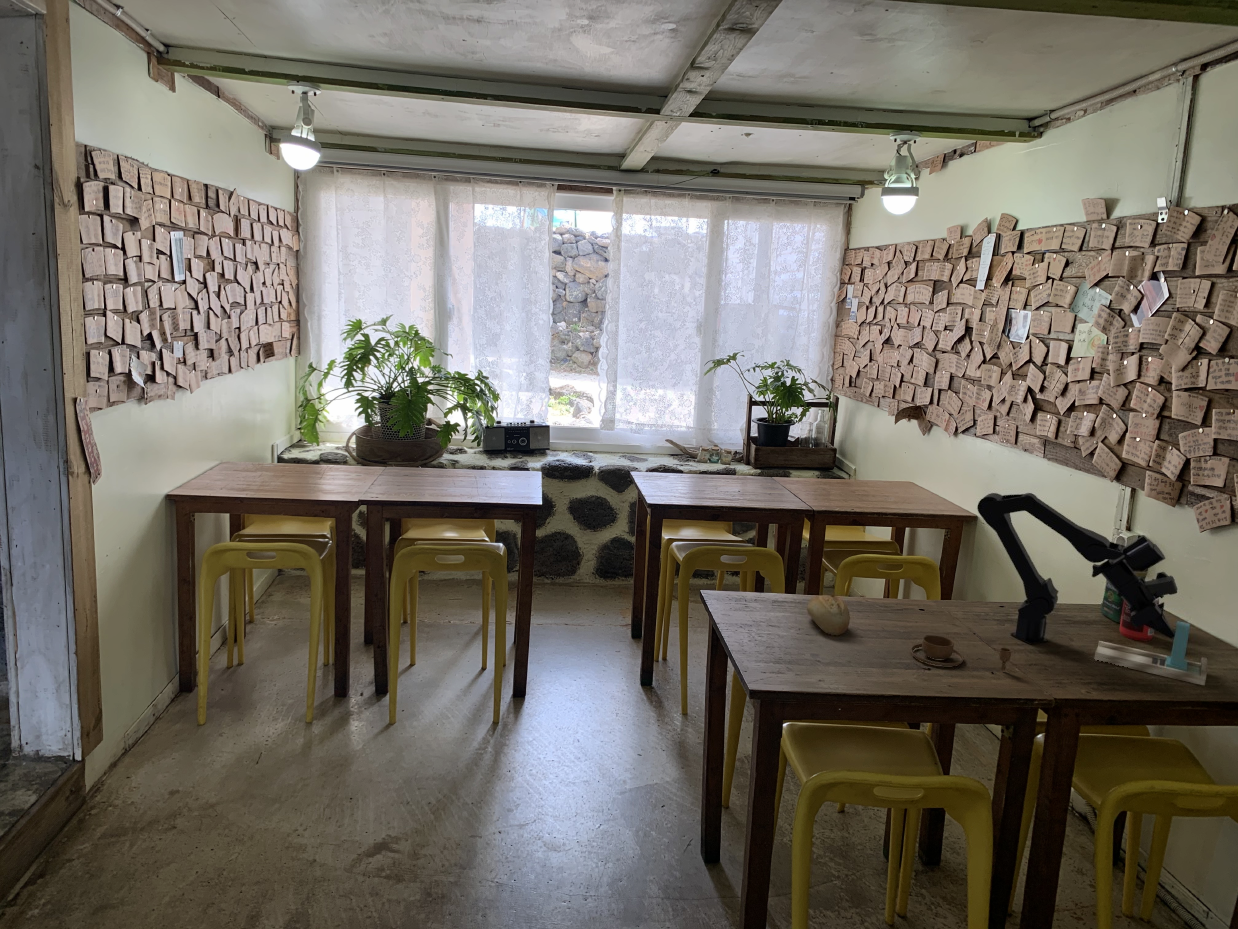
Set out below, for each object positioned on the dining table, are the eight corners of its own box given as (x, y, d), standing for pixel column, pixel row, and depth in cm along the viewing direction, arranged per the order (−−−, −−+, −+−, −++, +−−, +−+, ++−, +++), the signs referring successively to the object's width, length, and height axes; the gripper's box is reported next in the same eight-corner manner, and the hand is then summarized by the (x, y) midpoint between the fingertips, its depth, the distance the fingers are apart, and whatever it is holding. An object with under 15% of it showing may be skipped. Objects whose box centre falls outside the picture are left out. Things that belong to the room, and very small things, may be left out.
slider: (1165, 668, 197) (1172, 627, 195) (1166, 659, 202) (1173, 619, 200) (1186, 672, 194) (1193, 631, 193) (1186, 664, 199) (1193, 623, 198)
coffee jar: (1094, 611, 237) (1104, 548, 234) (1122, 612, 238) (1132, 548, 234) (1116, 624, 228) (1126, 558, 224) (1144, 625, 228) (1155, 559, 225)
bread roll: (832, 615, 227) (834, 587, 225) (857, 637, 212) (860, 607, 211) (798, 616, 225) (800, 588, 223) (821, 638, 210) (824, 608, 209)
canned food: (1148, 632, 223) (1155, 592, 221) (1156, 643, 216) (1163, 602, 214) (1115, 628, 226) (1121, 588, 223) (1122, 638, 218) (1129, 598, 216)
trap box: (1094, 659, 204) (1096, 646, 203) (1098, 648, 211) (1100, 635, 210) (1204, 685, 192) (1207, 671, 191) (1204, 672, 199) (1207, 658, 198)
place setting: (937, 644, 211) (940, 621, 210) (1013, 674, 195) (1016, 650, 194) (892, 658, 202) (894, 634, 200) (967, 691, 185) (970, 665, 184)
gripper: (1155, 573, 190) (1206, 631, 186) (1158, 554, 205) (1206, 608, 201) (1109, 599, 196) (1158, 656, 192) (1116, 579, 211) (1162, 632, 207)
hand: (1173, 637), depth 198 cm, fingers closed, pressing on slider
